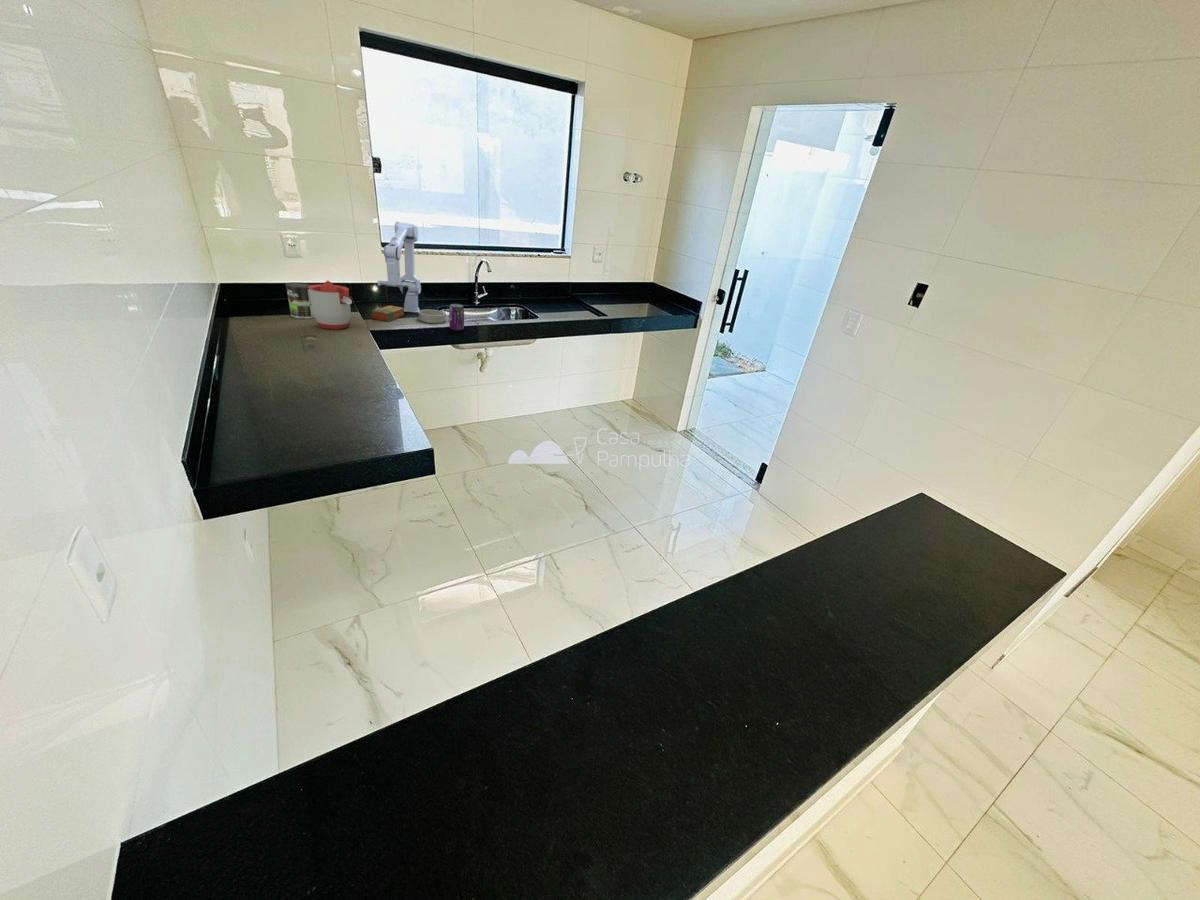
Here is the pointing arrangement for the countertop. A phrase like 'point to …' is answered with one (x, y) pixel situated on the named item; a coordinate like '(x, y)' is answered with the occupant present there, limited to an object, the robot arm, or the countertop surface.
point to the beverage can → (456, 317)
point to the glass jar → (299, 300)
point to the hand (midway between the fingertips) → (395, 302)
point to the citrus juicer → (330, 305)
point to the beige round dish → (431, 316)
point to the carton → (387, 313)
